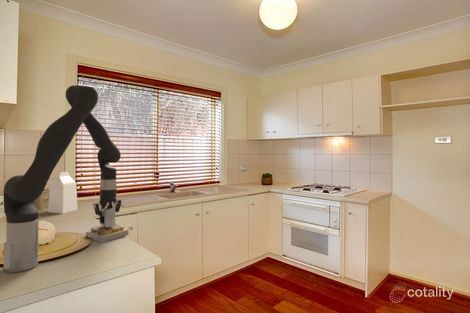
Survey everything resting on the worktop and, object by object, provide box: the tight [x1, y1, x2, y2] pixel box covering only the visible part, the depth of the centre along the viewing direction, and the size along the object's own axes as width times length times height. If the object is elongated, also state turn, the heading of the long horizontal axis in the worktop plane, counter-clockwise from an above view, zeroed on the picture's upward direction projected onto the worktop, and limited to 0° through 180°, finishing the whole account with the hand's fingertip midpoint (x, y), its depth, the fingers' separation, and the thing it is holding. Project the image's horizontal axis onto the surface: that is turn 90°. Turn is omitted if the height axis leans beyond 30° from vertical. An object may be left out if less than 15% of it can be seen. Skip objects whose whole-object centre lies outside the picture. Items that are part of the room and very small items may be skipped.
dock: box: [85, 228, 130, 243], centre depth 134 cm, size 14×14×3 cm
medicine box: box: [99, 208, 116, 227], centre depth 134 cm, size 8×4×9 cm, turn 48°
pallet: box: [90, 223, 125, 236], centre depth 134 cm, size 11×11×2 cm
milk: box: [47, 171, 78, 215], centre depth 179 cm, size 12×12×26 cm
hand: (107, 222), depth 134 cm, fingers closed on medicine box, 5 cm apart
